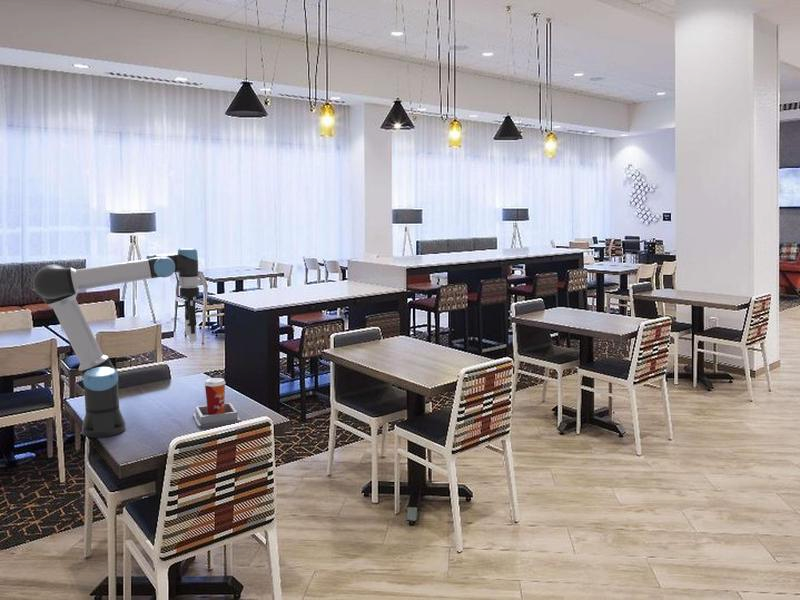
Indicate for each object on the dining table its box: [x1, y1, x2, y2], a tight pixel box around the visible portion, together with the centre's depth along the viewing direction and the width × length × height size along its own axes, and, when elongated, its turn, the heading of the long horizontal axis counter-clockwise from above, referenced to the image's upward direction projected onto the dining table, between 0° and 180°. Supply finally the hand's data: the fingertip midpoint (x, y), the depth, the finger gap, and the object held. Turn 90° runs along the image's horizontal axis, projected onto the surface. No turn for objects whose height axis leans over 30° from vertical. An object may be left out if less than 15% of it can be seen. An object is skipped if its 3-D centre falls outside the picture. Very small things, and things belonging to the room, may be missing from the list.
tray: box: [192, 402, 242, 429], centre depth 267 cm, size 16×16×4 cm
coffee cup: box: [203, 377, 226, 415], centre depth 266 cm, size 8×8×15 cm
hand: (191, 338), depth 274 cm, fingers open, 13 cm apart
